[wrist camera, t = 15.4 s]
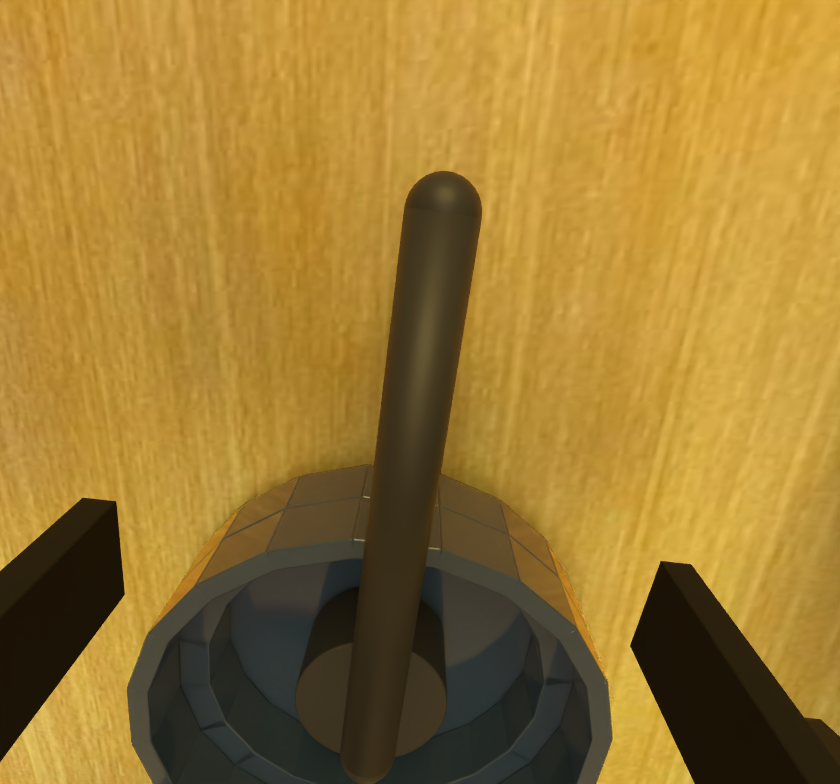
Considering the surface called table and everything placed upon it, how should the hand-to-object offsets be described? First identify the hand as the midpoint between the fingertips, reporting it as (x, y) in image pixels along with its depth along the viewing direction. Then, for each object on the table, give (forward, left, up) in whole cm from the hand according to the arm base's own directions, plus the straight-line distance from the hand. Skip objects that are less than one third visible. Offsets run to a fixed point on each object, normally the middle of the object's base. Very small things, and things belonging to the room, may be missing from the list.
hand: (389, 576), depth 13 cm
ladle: (+3, 0, -9) cm, 10 cm away
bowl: (+11, 0, -10) cm, 15 cm away
